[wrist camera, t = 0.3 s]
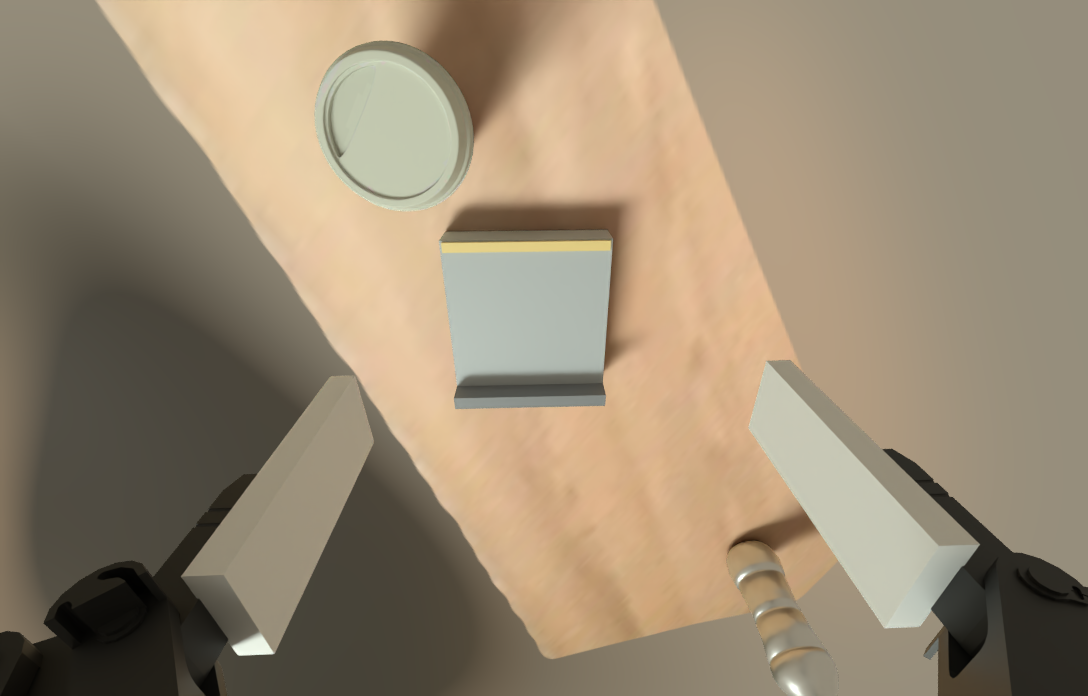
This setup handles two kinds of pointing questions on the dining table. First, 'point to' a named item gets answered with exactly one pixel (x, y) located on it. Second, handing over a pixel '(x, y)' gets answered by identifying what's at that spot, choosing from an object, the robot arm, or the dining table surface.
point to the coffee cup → (394, 126)
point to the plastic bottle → (781, 623)
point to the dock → (527, 316)
